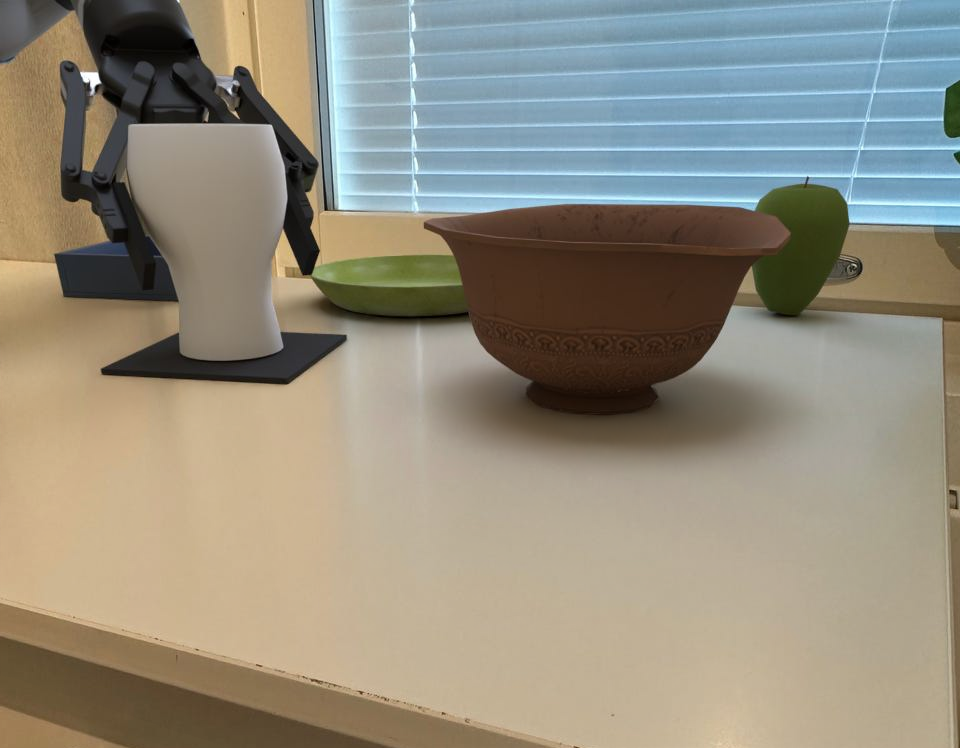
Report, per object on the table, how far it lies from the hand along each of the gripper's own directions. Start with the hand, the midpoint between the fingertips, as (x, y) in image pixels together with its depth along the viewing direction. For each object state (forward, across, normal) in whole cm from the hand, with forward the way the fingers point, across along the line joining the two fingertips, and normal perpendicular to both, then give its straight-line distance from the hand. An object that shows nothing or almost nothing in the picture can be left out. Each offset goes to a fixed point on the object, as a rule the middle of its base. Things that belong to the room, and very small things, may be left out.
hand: (234, 270), depth 63 cm
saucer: (-5, -23, -15) cm, 28 cm away
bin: (-21, -5, -30) cm, 37 cm away
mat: (+3, 0, -6) cm, 7 cm away
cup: (+2, 0, -6) cm, 7 cm away
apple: (+11, -49, +2) cm, 50 cm away
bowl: (+19, -16, +10) cm, 27 cm away
